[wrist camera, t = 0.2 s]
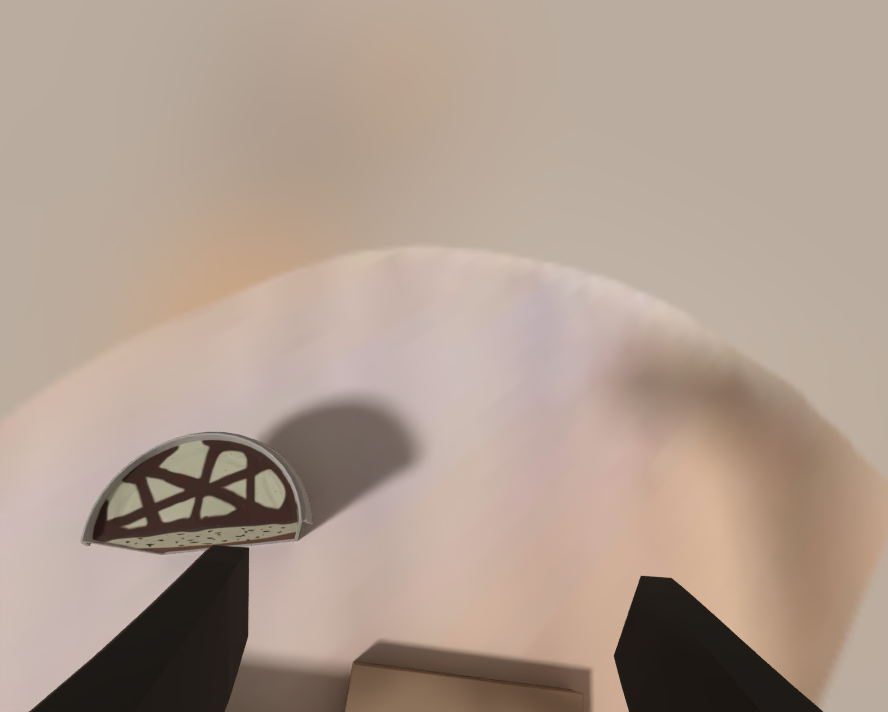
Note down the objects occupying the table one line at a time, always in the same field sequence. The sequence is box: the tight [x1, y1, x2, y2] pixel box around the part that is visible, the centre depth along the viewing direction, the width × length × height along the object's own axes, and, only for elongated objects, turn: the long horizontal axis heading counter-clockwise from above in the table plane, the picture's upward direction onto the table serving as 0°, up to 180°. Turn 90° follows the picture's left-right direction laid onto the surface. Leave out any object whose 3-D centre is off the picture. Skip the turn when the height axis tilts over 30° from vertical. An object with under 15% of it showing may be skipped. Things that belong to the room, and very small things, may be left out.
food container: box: [81, 432, 313, 555], centre depth 33 cm, size 12×6×10 cm, turn 97°
